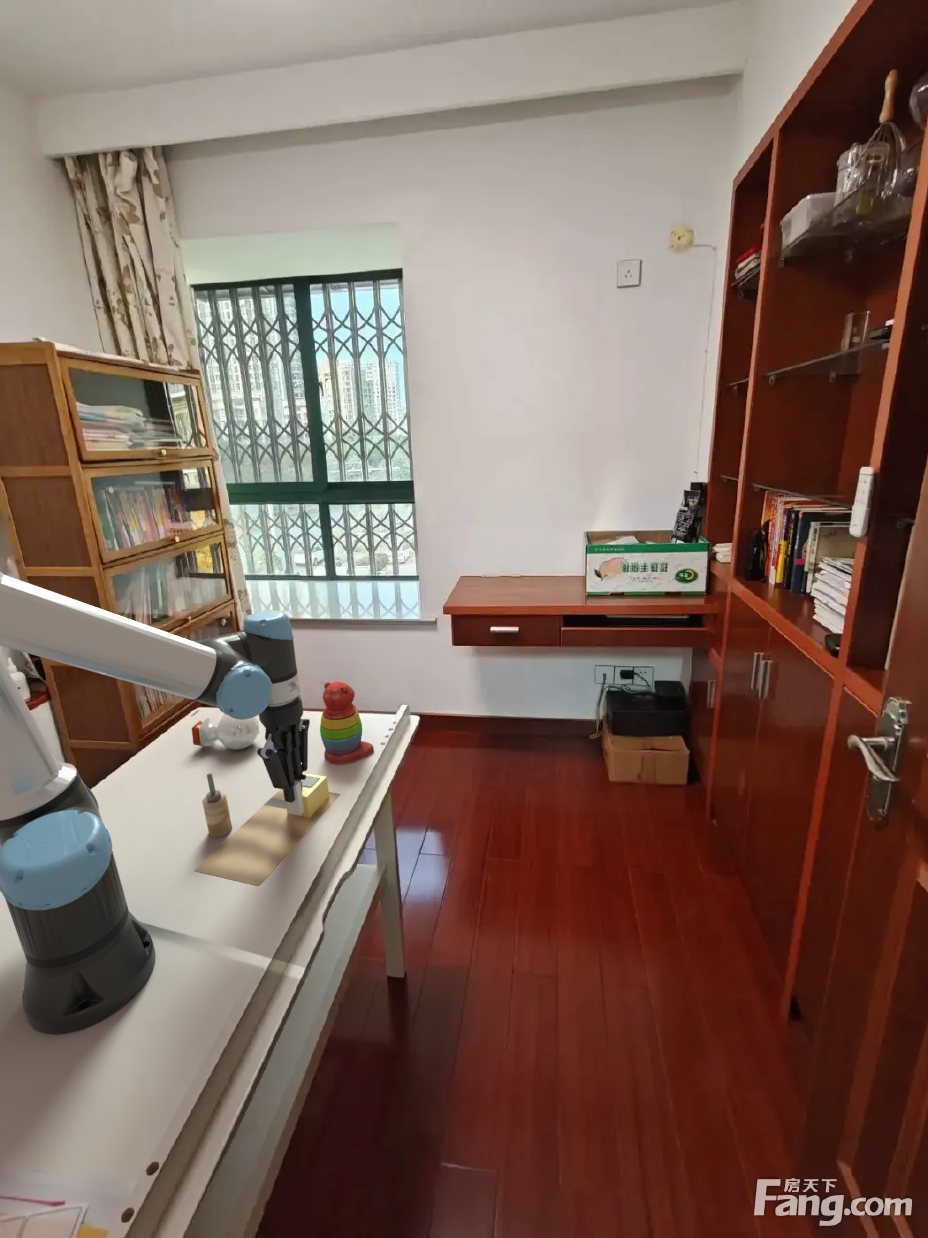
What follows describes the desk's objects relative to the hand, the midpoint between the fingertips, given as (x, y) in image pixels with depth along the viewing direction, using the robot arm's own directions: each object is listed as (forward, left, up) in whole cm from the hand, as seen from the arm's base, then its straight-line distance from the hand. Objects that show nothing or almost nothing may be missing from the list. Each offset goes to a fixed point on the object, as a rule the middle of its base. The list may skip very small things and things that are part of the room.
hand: (296, 812), depth 109 cm
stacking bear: (+25, +4, -3) cm, 26 cm away
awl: (-7, +12, -3) cm, 14 cm away
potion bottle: (+21, +33, -3) cm, 39 cm away
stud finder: (+4, 0, -1) cm, 5 cm away
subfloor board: (-4, +3, -3) cm, 5 cm away
